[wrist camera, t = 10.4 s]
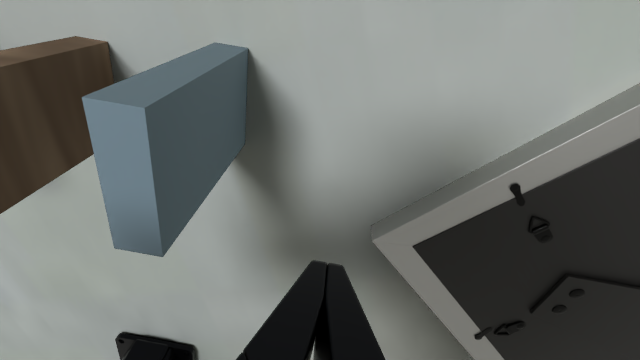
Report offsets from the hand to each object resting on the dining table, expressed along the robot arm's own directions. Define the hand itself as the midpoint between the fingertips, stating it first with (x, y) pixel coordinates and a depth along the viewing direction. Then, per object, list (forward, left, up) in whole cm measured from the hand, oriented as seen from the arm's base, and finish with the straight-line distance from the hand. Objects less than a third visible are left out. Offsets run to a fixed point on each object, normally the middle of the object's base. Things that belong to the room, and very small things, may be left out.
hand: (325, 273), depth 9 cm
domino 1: (0, +13, -10) cm, 16 cm away
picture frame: (-7, -16, -11) cm, 20 cm away
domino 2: (+1, +6, -10) cm, 12 cm away
